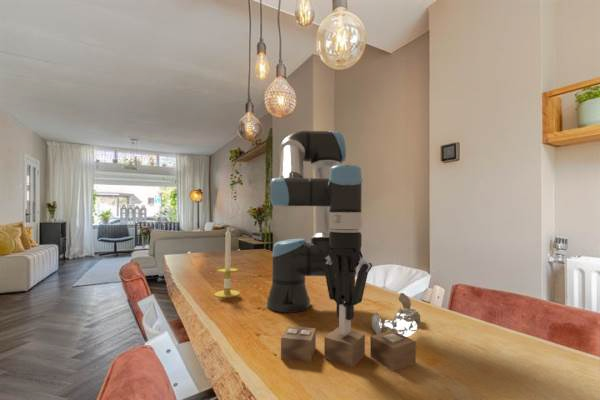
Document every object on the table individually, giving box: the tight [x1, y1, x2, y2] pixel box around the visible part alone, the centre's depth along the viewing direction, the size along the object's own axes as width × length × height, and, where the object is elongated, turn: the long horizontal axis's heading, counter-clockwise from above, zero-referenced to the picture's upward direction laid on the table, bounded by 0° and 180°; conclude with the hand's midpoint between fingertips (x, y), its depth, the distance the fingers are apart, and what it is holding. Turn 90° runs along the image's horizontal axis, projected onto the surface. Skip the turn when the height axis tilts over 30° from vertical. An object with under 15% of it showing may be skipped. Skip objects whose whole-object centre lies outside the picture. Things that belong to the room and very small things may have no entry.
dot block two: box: [280, 325, 317, 363], centre depth 72 cm, size 7×7×5 cm
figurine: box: [371, 312, 418, 338], centre depth 83 cm, size 9×6×12 cm
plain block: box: [323, 327, 366, 369], centre depth 70 cm, size 7×7×5 cm
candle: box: [214, 227, 241, 299], centre depth 121 cm, size 10×10×27 cm
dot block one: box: [369, 330, 417, 372], centre depth 69 cm, size 7×7×5 cm
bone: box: [397, 292, 422, 325], centre depth 92 cm, size 9×6×10 cm
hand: (345, 332), depth 70 cm, fingers closed
